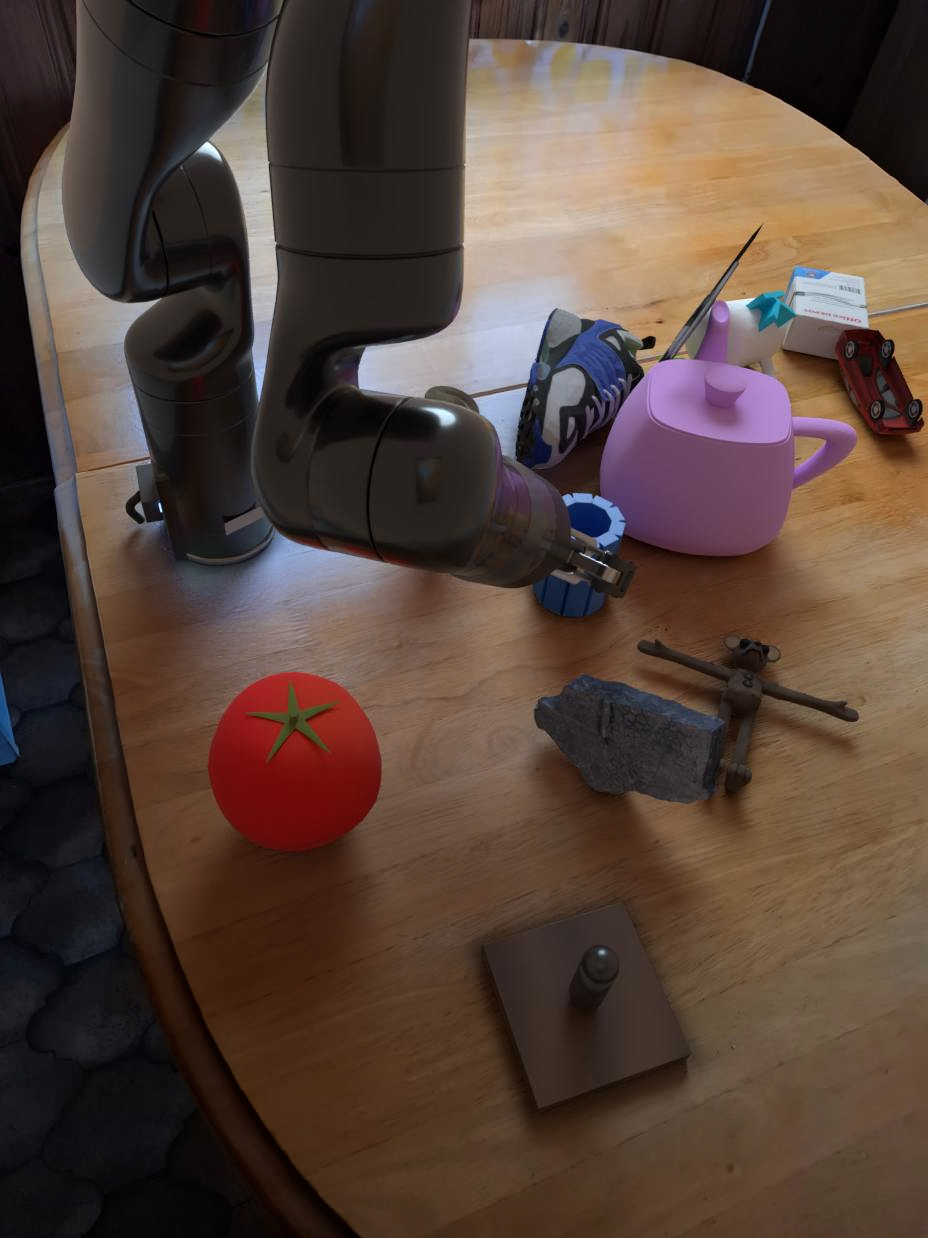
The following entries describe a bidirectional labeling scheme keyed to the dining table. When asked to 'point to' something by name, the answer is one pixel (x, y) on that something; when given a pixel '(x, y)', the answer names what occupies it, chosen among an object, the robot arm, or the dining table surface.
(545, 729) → the stone
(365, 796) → the tomato
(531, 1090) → the peg stand
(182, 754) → the dining table surface
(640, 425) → the teapot
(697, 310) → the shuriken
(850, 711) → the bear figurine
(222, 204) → the robot arm
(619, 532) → the blue notched tube
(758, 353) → the mug
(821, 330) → the ink box
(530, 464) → the athletic shoe
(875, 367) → the toy car
